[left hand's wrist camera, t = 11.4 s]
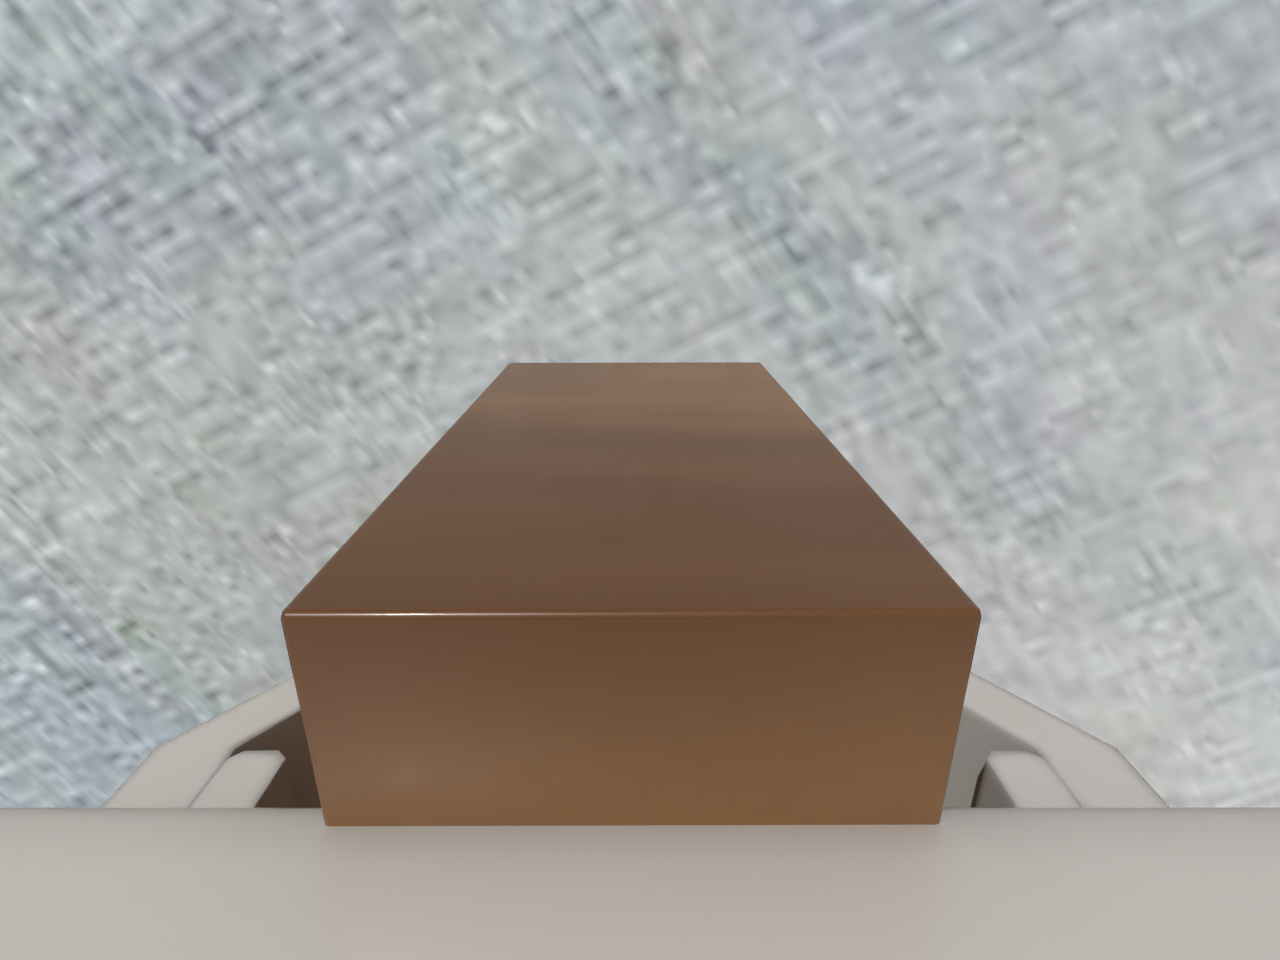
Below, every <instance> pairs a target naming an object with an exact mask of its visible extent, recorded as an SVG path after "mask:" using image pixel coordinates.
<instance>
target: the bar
mask: <svg viewBox="0 0 1280 960" xmlns="http://www.w3.org/2000/svg"><path fill="white" fill-rule="evenodd" d="M980 621H981V613H980V609H979V608H978V607H977V606H976V605H975V604H974V602H973V601H972V600H971V599H970V598H969V597H968V596H967V595H966V593H965V592H964V591H963V590H962V589H961V588H960V587H959V586H958V584H957V583H956V582H955V581H954V580H953V579H952V578H951V577H950V575H949V574H948V573H947V572H946V571H945V570H944V569H943V568H942V566H941V565H940V564H939V563H938V562H937V561H936V560H935V559H934V558H933V556H932V555H931V554H930V553H929V552H928V551H927V550H926V549H925V547H924V546H923V545H922V544H921V543H920V542H919V541H918V540H917V538H916V537H915V536H914V535H913V534H912V533H911V532H910V531H909V529H908V528H907V527H906V526H905V525H904V524H903V523H902V522H901V520H900V519H899V518H898V517H897V516H896V515H895V514H894V513H893V512H892V510H891V509H890V508H889V507H888V506H887V505H886V504H885V503H884V501H883V500H882V499H881V498H880V497H879V496H878V495H877V494H876V492H875V491H874V490H873V489H872V488H871V487H870V486H869V485H868V483H867V482H866V481H865V480H864V479H863V478H862V477H861V476H860V474H859V473H858V472H857V471H856V470H855V469H854V468H853V467H852V466H851V464H850V463H849V462H848V461H847V460H846V459H845V458H844V457H843V455H842V454H841V453H840V452H839V451H838V450H837V449H836V448H835V446H834V445H833V444H832V443H831V442H830V441H829V440H828V439H827V437H826V436H825V435H824V434H823V433H822V432H821V431H820V430H819V428H818V427H817V426H816V425H815V424H814V423H813V422H812V421H811V420H810V418H809V417H808V416H807V415H806V414H805V413H804V412H803V411H802V409H801V408H800V407H799V406H798V405H797V404H796V403H795V402H794V400H793V399H792V398H791V397H790V396H789V395H788V394H787V393H786V391H785V390H784V389H783V388H782V387H781V386H780V385H779V384H778V382H777V381H776V380H775V379H774V378H773V377H772V376H771V375H770V374H769V372H768V371H767V370H766V369H765V368H764V367H763V366H762V365H761V363H510V364H509V365H508V366H507V367H506V368H505V369H504V370H503V371H502V372H501V373H500V375H499V376H498V377H497V378H496V379H495V380H494V381H493V382H492V383H491V384H490V385H489V387H488V388H487V389H486V390H485V391H484V392H483V393H482V394H481V395H480V396H479V397H478V399H477V400H476V401H475V402H474V403H473V404H472V405H471V406H470V407H469V408H468V409H467V411H466V412H465V413H464V414H463V415H462V416H461V417H460V418H459V419H458V420H457V421H456V423H455V424H454V425H453V426H452V427H451V428H450V429H449V430H448V431H447V432H446V434H445V435H444V436H443V437H442V438H441V439H440V440H439V441H438V442H437V443H436V444H435V446H434V447H433V448H432V449H431V450H430V451H429V452H428V453H427V454H426V455H425V456H424V458H423V459H422V460H421V461H420V462H419V463H418V464H417V465H416V466H415V467H414V468H413V470H412V471H411V472H410V473H409V474H408V475H407V476H406V477H405V478H404V479H403V480H402V482H401V483H400V484H399V485H398V486H397V487H396V488H395V489H394V490H393V491H392V492H391V494H390V495H389V496H388V497H387V498H386V499H385V500H384V501H383V502H382V503H381V504H380V506H379V507H378V508H377V509H376V510H375V511H374V512H373V513H372V514H371V515H370V516H369V518H368V519H367V520H366V521H365V522H364V523H363V524H362V525H361V526H360V527H359V528H358V530H357V531H356V532H355V533H354V534H353V535H352V536H351V537H350V538H349V539H348V540H347V542H346V543H345V544H344V545H343V546H342V547H341V548H340V549H339V550H338V551H337V553H336V554H335V555H334V556H333V557H332V558H331V559H330V560H329V561H328V562H327V563H326V565H325V566H324V567H323V568H322V569H321V570H320V571H319V572H318V573H317V574H316V575H315V577H314V578H313V579H312V580H311V581H310V582H309V583H308V584H307V585H306V586H305V587H304V589H303V590H302V591H301V592H300V593H299V594H298V595H297V596H296V597H295V598H294V599H293V601H292V602H291V603H290V604H289V605H288V606H287V607H286V608H285V609H284V610H283V612H282V615H281V622H282V627H283V631H284V636H285V641H286V645H287V650H288V655H289V659H290V664H291V668H292V673H293V678H294V682H295V687H296V692H297V696H298V701H299V706H300V710H301V715H302V720H303V724H304V729H305V734H306V738H307V743H308V747H309V752H310V757H311V761H312V766H313V771H314V775H315V780H316V785H317V789H318V794H319V799H320V803H321V808H322V812H323V817H324V822H325V825H327V826H623V825H936V824H938V823H940V818H941V813H942V808H943V804H944V799H945V794H946V789H947V784H948V779H949V774H950V769H951V764H952V759H953V754H954V749H955V744H956V739H957V734H958V729H959V724H960V720H961V715H962V710H963V705H964V700H965V695H966V690H967V685H968V680H969V675H970V670H971V665H972V660H973V655H974V650H975V645H976V640H977V636H978V631H979V626H980Z"/></svg>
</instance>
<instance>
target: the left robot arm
mask: <svg viewBox="0 0 1280 960" xmlns="http://www.w3.org/2000/svg"><path fill="white" fill-rule="evenodd" d="M0 960H1280V808H1170V807H1169V806H1168V805H1167V804H1166V803H1165V801H1164V800H1163V799H1162V798H1161V797H1160V796H1159V795H1158V794H1157V793H1156V791H1155V790H1154V789H1153V788H1152V787H1151V786H1150V785H1149V784H1148V783H1147V781H1146V780H1145V779H1144V778H1143V777H1142V776H1141V775H1140V774H1139V773H1138V771H1137V770H1136V769H1135V768H1134V767H1133V766H1132V765H1131V764H1130V763H1129V761H1128V760H1127V759H1126V758H1125V757H1124V756H1123V755H1122V754H1121V753H1120V751H1119V750H1118V749H1117V748H1115V747H1113V746H1111V745H1109V744H1107V743H1105V742H1103V741H1101V740H1099V739H1098V738H1096V737H1094V736H1092V735H1090V734H1088V733H1086V732H1084V731H1082V730H1080V729H1079V728H1077V727H1075V726H1073V725H1071V724H1069V723H1067V722H1065V721H1063V720H1061V719H1059V718H1058V717H1056V716H1054V715H1052V714H1050V713H1048V712H1046V711H1044V710H1042V709H1040V708H1039V707H1037V706H1035V705H1033V704H1031V703H1029V702H1027V701H1025V700H1023V699H1021V698H1020V697H1018V696H1016V695H1014V694H1012V693H1010V692H1008V691H1006V690H1004V689H1002V688H1001V687H999V686H997V685H995V684H993V683H991V682H989V681H987V680H985V679H983V678H981V677H980V676H978V675H976V674H974V673H972V672H970V675H969V680H968V685H967V690H966V695H965V700H964V705H963V710H962V715H961V720H960V724H959V729H958V734H957V739H956V744H955V749H954V754H953V759H952V764H951V769H950V774H949V779H948V784H947V789H946V794H945V799H944V804H943V808H942V813H941V818H940V823H938V824H936V825H623V826H327V825H325V822H324V817H323V812H322V808H321V803H320V799H319V794H318V789H317V785H316V780H315V775H314V771H313V766H312V761H311V757H310V752H309V747H308V743H307V738H306V734H305V729H304V724H303V720H302V715H301V710H300V706H299V701H298V696H297V692H296V687H295V682H294V678H293V677H291V678H289V679H288V680H286V681H284V682H282V683H280V684H278V685H276V686H274V687H272V688H270V689H268V690H266V691H264V692H262V693H261V694H259V695H257V696H255V697H253V698H251V699H249V700H247V701H245V702H243V703H241V704H239V705H237V706H235V707H234V708H232V709H230V710H228V711H226V712H224V713H222V714H220V715H218V716H216V717H214V718H212V719H210V720H208V721H207V722H205V723H203V724H201V725H199V726H197V727H195V728H193V729H191V730H189V731H187V732H185V733H183V734H182V735H180V736H178V737H176V738H174V739H172V740H170V741H168V742H166V743H164V744H162V745H160V746H158V747H156V748H155V749H154V750H153V751H152V753H151V754H150V755H149V756H148V757H147V758H146V759H145V760H144V761H143V762H142V763H141V765H140V766H139V767H138V768H137V769H136V770H135V771H134V772H133V773H132V774H131V775H130V776H129V778H128V779H127V780H126V781H125V782H124V783H123V784H122V785H121V786H120V787H119V788H118V789H117V791H116V792H115V793H114V794H113V795H112V796H111V797H110V798H109V799H108V800H107V801H106V803H105V804H104V805H103V806H102V807H101V808H0Z"/></svg>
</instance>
